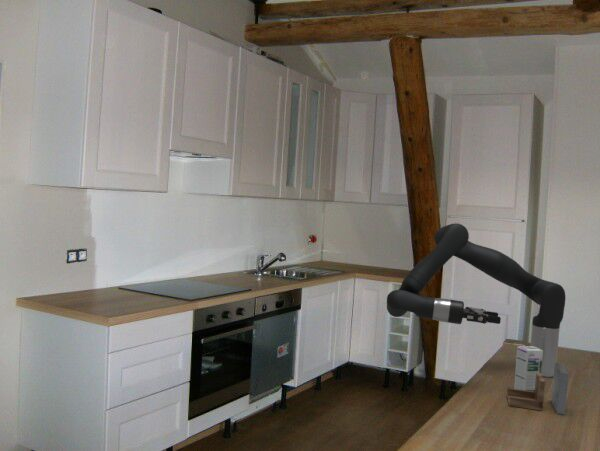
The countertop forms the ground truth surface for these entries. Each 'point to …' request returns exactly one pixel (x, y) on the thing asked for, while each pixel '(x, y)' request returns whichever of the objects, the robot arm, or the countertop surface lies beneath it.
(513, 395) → the cradle
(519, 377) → the syrup box
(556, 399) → the plate
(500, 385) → the countertop surface
